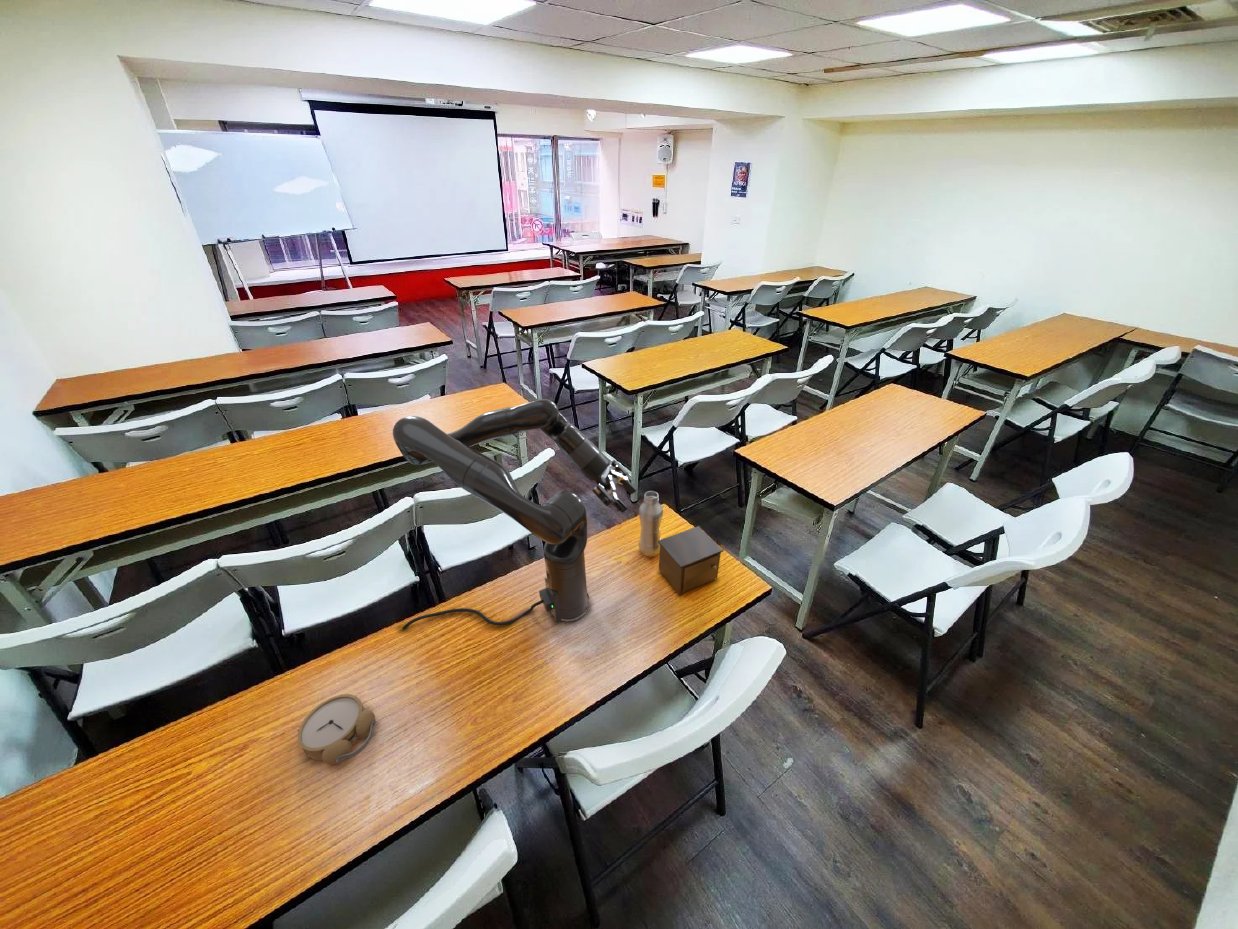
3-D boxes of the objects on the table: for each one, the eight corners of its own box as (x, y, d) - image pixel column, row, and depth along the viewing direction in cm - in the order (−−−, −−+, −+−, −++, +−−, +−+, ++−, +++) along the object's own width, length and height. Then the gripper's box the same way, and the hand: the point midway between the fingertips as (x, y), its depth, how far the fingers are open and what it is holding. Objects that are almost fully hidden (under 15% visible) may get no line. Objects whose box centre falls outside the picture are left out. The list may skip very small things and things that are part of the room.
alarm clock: (337, 685, 97) (383, 709, 89) (348, 701, 99) (393, 725, 92) (283, 735, 88) (329, 765, 81) (296, 750, 90) (342, 782, 83)
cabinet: (680, 601, 118) (683, 569, 112) (656, 571, 127) (657, 540, 121) (721, 583, 123) (725, 552, 117) (695, 556, 132) (698, 525, 126)
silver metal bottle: (660, 561, 131) (662, 503, 120) (636, 557, 132) (636, 500, 121) (663, 545, 136) (665, 489, 125) (640, 542, 137) (640, 486, 127)
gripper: (588, 452, 132) (628, 493, 135) (569, 479, 120) (612, 523, 123) (606, 438, 127) (646, 480, 130) (587, 465, 116) (631, 510, 119)
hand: (629, 501), depth 127 cm, fingers open, 8 cm apart
